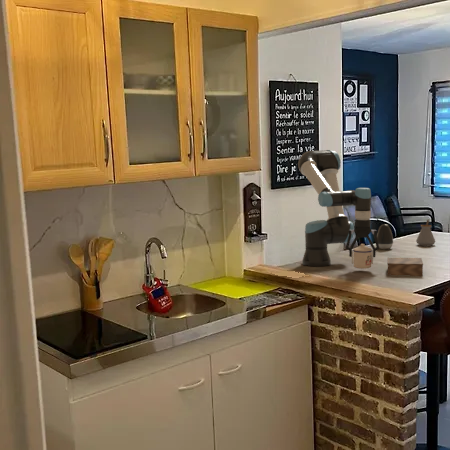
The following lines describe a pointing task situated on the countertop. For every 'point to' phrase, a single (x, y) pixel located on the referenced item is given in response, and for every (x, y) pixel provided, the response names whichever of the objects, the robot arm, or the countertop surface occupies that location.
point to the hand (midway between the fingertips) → (362, 263)
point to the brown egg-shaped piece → (384, 237)
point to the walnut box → (405, 266)
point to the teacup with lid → (362, 257)
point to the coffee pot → (425, 236)
